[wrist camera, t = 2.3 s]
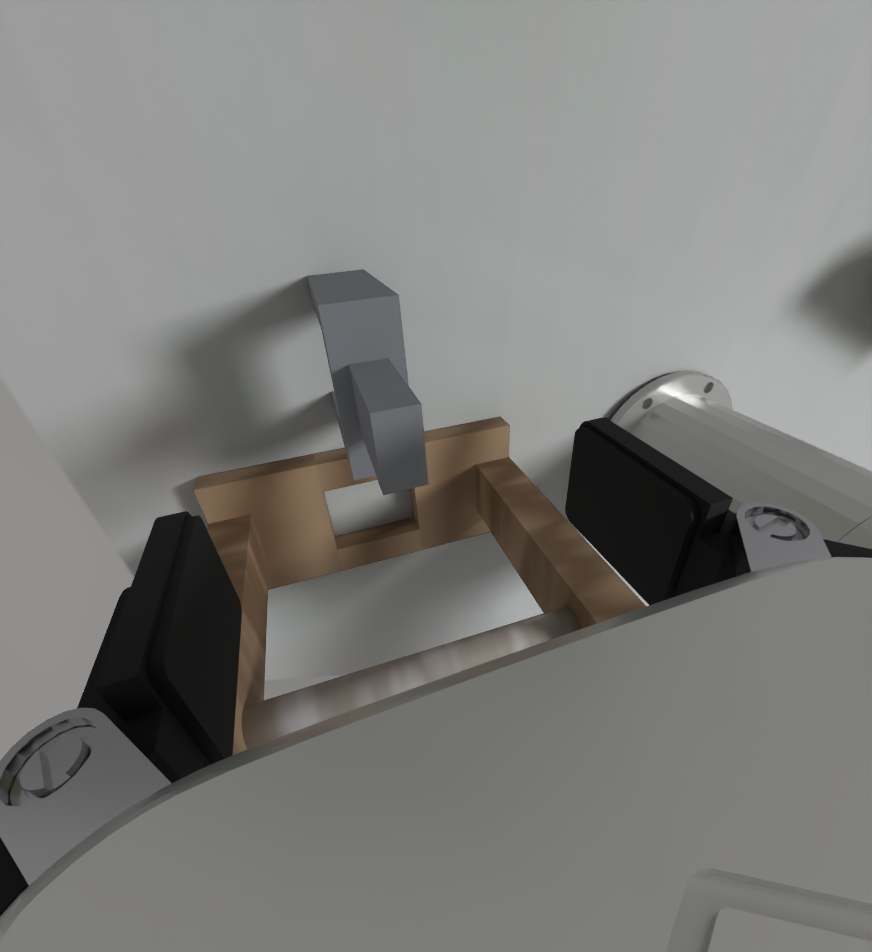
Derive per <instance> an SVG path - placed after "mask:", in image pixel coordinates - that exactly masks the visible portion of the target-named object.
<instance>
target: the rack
mask: <svg viewBox="0 0 872 952" xmlns="http://www.w3.org/2000/svg"><path fill="white" fill-rule="evenodd" d="M509 432H510V425H509V424H508V423H507V422H506V421H505V420H504V419H502V418H501V417H496V418H491V419H486V420H481V421H476V422H471V423H466V424H461V425H456V426H451V427H446V428H441V429H436V430H431V431H426V432H424V439H425V450H426V461H427V472H428V482H429V485H425V486H421V487H417V488H412V489H411V494H412V503H413V511H414V518H411V519H407V520H403V521H398V522H394V523H390V524H386V525H382V526H378V527H374V528H369V529H365V530H361V531H357V532H353V533H349V534H345V535H341V536H336V537H335V534H334V530H333V527H332V523H331V519H330V515H329V511H328V507H327V503H326V499H325V495H324V491H328V490H333V489H337V488H342V487H347V486H351V485H356V484H360V483H365V482H369V481H374V480H378V479H377V476H372V477H368V478H363V479H358V480H354V479H353V475H352V471H351V468H350V464H349V460H348V457H347V453H346V449H345V448H341V449H336V450H331V451H326V452H321V453H316V454H311V455H306V456H301V457H296V458H291V459H286V460H281V461H276V462H271V463H266V464H261V465H256V466H251V467H246V468H241V469H236V470H231V471H226V472H221V473H216V474H211V475H206V476H201V477H197V479H196V482H195V486H194V489H193V491H194V494H195V496H196V498H197V500H198V502H199V505H200V507H201V509H202V511H203V513H204V516H205V518H206V520H207V522H208V527H207V531H208V533H209V535H210V537H211V539H212V542H213V544H214V546H215V548H216V550H217V552H218V554H219V557H220V559H221V561H222V563H223V565H224V567H225V569H226V571H227V574H228V576H229V578H230V580H231V582H232V584H233V586H234V588H235V591H236V593H237V595H238V597H239V599H240V603H241V608H242V621H241V636H240V651H239V667H238V682H237V697H236V712H235V728H234V743H233V754H232V756H233V755H235V754H237V753H240V752H242V751H245V750H247V749H249V748H252V747H254V746H257V745H260V744H262V743H265V742H268V741H270V740H273V739H276V738H279V737H281V736H284V735H287V734H289V733H292V732H295V731H297V730H300V729H303V728H305V727H308V726H311V725H313V724H316V723H319V722H321V721H324V720H327V719H329V718H332V717H335V716H337V715H340V714H343V713H346V712H348V711H351V710H354V709H357V708H360V707H362V706H365V705H368V704H371V703H374V702H376V701H379V700H382V699H385V698H388V697H390V696H393V695H396V694H399V693H402V692H404V691H407V690H410V689H413V688H416V687H418V686H421V685H424V684H427V683H430V682H432V681H435V680H438V679H441V678H444V677H446V676H449V675H452V674H455V673H458V672H460V671H463V670H466V669H469V668H472V667H475V666H477V665H480V664H483V663H486V662H489V661H492V660H495V659H497V658H500V657H503V656H506V655H509V654H512V653H514V652H517V651H520V650H523V649H526V648H529V647H531V646H534V645H537V644H540V643H543V642H546V641H549V640H551V639H554V638H557V637H560V636H563V635H566V634H569V633H572V632H574V631H577V630H580V629H583V628H586V627H589V626H592V625H594V624H597V623H600V622H603V621H606V620H609V619H612V618H615V617H618V616H620V615H623V614H626V613H629V612H632V611H635V610H638V609H641V608H644V607H646V606H645V604H644V603H643V602H642V601H641V600H640V599H639V598H638V597H637V596H636V595H635V594H634V593H633V591H632V590H631V589H630V588H629V587H628V586H627V585H626V584H625V583H624V582H623V581H622V579H621V578H620V577H619V576H618V575H617V574H616V573H615V572H614V571H613V570H612V569H611V568H610V566H609V565H608V564H607V563H606V562H605V561H604V560H603V559H602V558H601V557H600V556H599V555H598V553H597V552H596V551H595V550H594V549H593V548H592V547H591V546H590V545H589V544H588V543H587V541H586V540H585V539H584V538H583V537H582V536H581V535H580V534H579V533H578V532H577V531H576V530H575V528H574V527H573V526H572V525H571V524H570V523H569V522H568V521H567V520H566V519H565V518H564V516H563V515H562V514H561V513H560V512H559V511H558V510H557V509H556V508H555V507H554V506H553V505H552V503H551V502H550V501H549V500H548V499H547V498H546V497H545V496H544V495H543V494H542V493H541V491H540V490H539V489H538V488H537V487H536V486H535V485H534V484H533V483H532V482H531V481H530V480H529V478H528V477H527V476H526V475H525V474H524V473H523V472H522V471H521V470H520V469H519V468H518V467H517V465H516V464H515V463H514V462H513V461H512V460H511V459H510V458H509ZM489 532H491V533H492V534H493V536H494V537H495V539H496V540H497V542H498V543H499V545H500V546H501V548H502V549H503V551H504V553H505V554H506V556H507V557H508V559H509V560H510V562H511V563H512V565H513V566H514V568H515V569H516V571H517V573H518V574H519V576H520V577H521V579H522V580H523V582H524V583H525V585H526V586H527V588H528V589H529V591H530V593H531V594H532V596H533V597H534V599H535V600H536V602H537V603H538V605H539V606H540V608H541V609H542V611H543V612H544V614H540V615H537V616H534V617H531V618H528V619H524V620H521V621H518V622H515V623H511V624H508V625H505V626H502V627H499V628H495V629H492V630H489V631H486V632H483V633H479V634H476V635H473V636H470V637H467V638H463V639H460V640H457V641H454V642H450V643H447V644H444V645H441V646H438V647H434V648H431V649H428V650H425V651H422V652H418V653H415V654H412V655H409V656H406V657H402V658H399V659H396V660H393V661H389V662H386V663H383V664H380V665H377V666H373V667H370V668H367V669H364V670H361V671H357V672H354V673H351V674H348V675H345V676H341V677H338V678H335V679H332V680H329V681H325V682H322V683H319V684H316V685H313V686H309V687H306V688H303V689H300V690H296V691H293V692H290V693H287V694H284V695H281V696H277V697H274V698H271V699H267V700H264V679H265V653H266V626H267V599H268V590H269V589H273V588H277V587H281V586H285V585H289V584H292V583H296V582H300V581H304V580H308V579H312V578H316V577H319V576H323V575H327V574H331V573H335V572H339V571H342V570H346V569H350V568H354V567H358V566H362V565H366V564H369V563H373V562H377V561H381V560H385V559H389V558H393V557H396V556H400V555H404V554H408V553H412V552H416V551H420V550H423V549H427V548H431V547H435V546H439V545H443V544H446V543H450V542H454V541H458V540H462V539H466V538H470V537H473V536H477V535H481V534H485V533H489Z"/></svg>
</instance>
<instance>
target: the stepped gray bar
mask: <svg viewBox="0 0 872 952" xmlns="http://www.w3.org/2000/svg"><path fill="white" fill-rule="evenodd" d="M307 280H308V285H309V289H310V294H311V299H312V302H313V305H314V308H315V311H316V314H317V317H318V320H319V323H320V326H321V329H322V334H323V339H324V343H325V348H326V353H327V358H328V363H329V367H330V372H331V377H332V382H333V387H334V391H333V392H331V393H332V398H333V403H334V407H335V412H336V415H337V419H338V423H339V427H340V430H341V434H342V438H343V442H344V445H345V449H346V453H347V457H348V460H349V464H350V468H351V471H352V475H353V479H354V480H358V479H363V478H368V477H372V476H377V479H378V482H379V485H380V488H381V490H382V493H383V495H386V494H390V493H395V492H399V491H403V490H408V489H412V488H417V487H421V486H425V485H429V482H428V472H427V461H426V450H425V439H424V429H423V418H422V407H421V403H420V401H419V400H418V399H417V397H416V396H415V395H414V393H413V392H412V390H411V389H410V388H409V386H408V377H407V368H406V359H405V349H404V340H403V331H402V322H401V312H400V303H399V295H398V294H397V293H395V292H394V291H392V290H391V289H390V288H388V287H387V286H386V285H384V284H383V283H381V282H380V281H379V280H377V279H376V278H374V277H373V276H372V275H370V274H369V273H367V272H366V271H365V270H356V271H347V272H338V273H330V274H321V275H312V276H307Z"/></svg>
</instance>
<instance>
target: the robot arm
mask: <svg viewBox="0 0 872 952" xmlns="http://www.w3.org/2000/svg"><path fill="white" fill-rule="evenodd" d="M565 511H566V515H567V518H568V520H569V521H570V522H571V523H572V524H573V525H574V526H575V527H576V528H577V529H578V531H579V532H580V533H581V534H582V535H583V536H584V537H585V538H586V539H587V540H588V541H589V542H590V543H591V544H592V545H593V546H594V547H595V548H596V549H597V550H598V552H599V553H600V554H601V555H602V556H603V557H604V558H605V559H606V560H607V561H608V562H609V563H610V564H611V565H612V566H613V567H614V568H615V569H616V570H617V572H618V573H619V574H620V575H621V576H622V577H623V578H624V579H625V580H626V581H627V582H628V583H629V584H630V585H631V586H632V587H633V588H634V589H635V590H636V591H637V593H638V594H639V595H640V596H641V597H642V598H643V599H644V600H645V601H646V602H647V603H648V604H649V605H650V606H647V607H644V608H641V609H638V610H635V611H632V612H629V613H626V614H623V615H620V616H618V617H615V618H612V619H609V620H606V621H603V622H600V623H597V624H594V625H592V626H589V627H586V628H583V629H580V630H577V631H574V632H572V633H569V634H566V635H563V636H560V637H557V638H554V639H551V640H549V641H546V642H543V643H540V644H537V645H534V646H531V647H529V648H526V649H523V650H520V651H517V652H514V653H512V654H509V655H506V656H503V657H500V658H497V659H495V660H492V661H489V662H486V663H483V664H480V665H477V666H475V667H472V668H469V669H466V670H463V671H460V672H458V673H455V674H452V675H449V676H446V677H444V678H441V679H438V680H435V681H432V682H430V683H427V684H424V685H421V686H418V687H416V688H413V689H410V690H407V691H404V692H402V693H399V694H396V695H393V696H390V697H388V698H385V699H382V700H379V701H376V702H374V703H371V704H368V705H365V706H362V707H360V708H357V709H354V710H351V711H348V712H346V713H343V714H340V715H337V716H335V717H332V718H329V719H327V720H324V721H321V722H319V723H316V724H313V725H311V726H308V727H305V728H303V729H300V730H297V731H295V732H292V733H289V734H287V735H284V736H281V737H279V738H276V739H273V740H270V741H268V742H265V743H262V744H260V745H257V746H254V747H252V748H249V749H247V750H245V751H242V752H240V753H237V754H235V755H233V756H232V754H233V743H234V728H235V712H236V697H237V682H238V667H239V651H240V636H241V621H242V608H241V603H240V599H239V597H238V595H237V593H236V591H235V588H234V586H233V584H232V582H231V580H230V578H229V576H228V574H227V571H226V569H225V567H224V565H223V563H222V561H221V559H220V557H219V554H218V552H217V550H216V548H215V546H214V544H213V542H212V539H211V537H210V535H209V533H208V531H207V529H206V527H205V525H204V522H203V520H202V519H201V517H200V516H198V515H197V516H193V517H192V516H191V515H190V514H189V513H188V512H186V511H185V512H181V513H176V514H172V515H167V516H163V517H159V518H156V520H155V522H154V525H153V527H152V530H151V533H150V536H149V538H148V541H147V544H146V547H145V549H144V552H143V555H142V558H141V561H140V563H139V566H138V569H137V572H136V574H135V577H134V580H133V583H132V585H131V587H129V588H127V589H125V590H124V591H123V592H122V594H121V596H120V597H119V600H118V603H117V605H116V608H115V610H114V613H113V616H112V618H111V621H110V624H109V626H108V629H107V631H106V634H105V637H104V639H103V642H102V645H101V647H100V650H99V653H98V655H97V658H96V660H95V663H94V666H93V668H92V671H91V673H90V676H89V679H88V681H87V684H86V687H85V689H84V692H83V695H82V697H81V700H80V702H79V706H78V708H77V709H73V710H69V711H65V712H63V713H61V714H59V715H56V716H54V717H52V718H50V719H48V720H46V721H45V722H43V723H41V724H40V725H38V726H37V727H35V728H34V729H32V730H31V731H29V732H28V733H27V734H26V735H25V736H24V737H23V738H21V739H20V740H19V741H18V742H17V743H16V744H15V745H14V746H12V748H11V749H10V750H9V751H8V752H7V754H6V755H5V756H4V757H3V758H2V759H1V761H0V952H872V471H870V470H868V469H866V468H863V467H861V466H859V465H857V464H854V463H852V462H850V461H847V460H845V459H843V458H841V457H838V456H836V455H834V454H832V453H829V452H827V451H825V450H823V449H820V448H818V447H816V446H813V445H811V444H809V443H807V442H804V441H802V440H800V439H798V438H795V437H793V436H791V435H788V434H786V433H784V432H782V431H779V430H777V429H775V428H773V427H770V426H768V425H766V424H764V423H761V422H759V421H757V420H754V419H752V418H750V417H748V416H745V415H743V414H741V413H739V412H736V411H734V410H733V409H732V401H731V397H730V395H729V393H728V390H727V389H726V387H725V386H724V385H723V384H722V383H721V382H720V381H719V380H717V379H715V378H713V377H712V376H709V375H706V374H703V373H700V372H695V371H681V372H674V373H671V374H668V375H665V376H663V377H660V378H658V379H656V380H654V381H653V382H651V383H649V384H647V385H645V386H644V387H643V388H641V389H640V390H639V391H637V392H636V393H635V394H633V395H632V396H631V397H630V398H629V399H628V400H627V401H626V402H625V403H624V404H623V405H622V406H621V407H620V408H619V410H618V411H617V412H616V414H615V415H614V416H613V417H612V419H611V420H609V419H607V418H599V419H594V420H590V421H585V422H583V423H582V424H581V426H580V428H579V429H577V430H576V432H575V438H574V445H573V453H572V461H571V469H570V477H569V484H568V492H567V500H566V509H565Z"/></svg>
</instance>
